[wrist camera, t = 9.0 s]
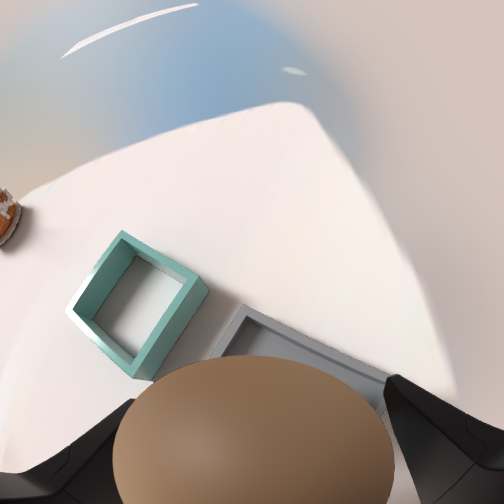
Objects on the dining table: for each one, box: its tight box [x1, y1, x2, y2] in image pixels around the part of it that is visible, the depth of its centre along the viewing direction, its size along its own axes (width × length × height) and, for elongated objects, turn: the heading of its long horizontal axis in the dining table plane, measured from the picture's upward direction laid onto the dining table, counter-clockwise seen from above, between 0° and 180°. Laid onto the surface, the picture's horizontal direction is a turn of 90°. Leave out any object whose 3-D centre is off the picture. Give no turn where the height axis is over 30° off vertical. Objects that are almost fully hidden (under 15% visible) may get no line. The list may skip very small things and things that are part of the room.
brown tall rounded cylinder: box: [113, 355, 395, 504], centre depth 9 cm, size 4×4×15 cm
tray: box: [209, 304, 391, 418], centre depth 15 cm, size 14×12×2 cm
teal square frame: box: [65, 230, 209, 381], centre depth 20 cm, size 9×9×3 cm
